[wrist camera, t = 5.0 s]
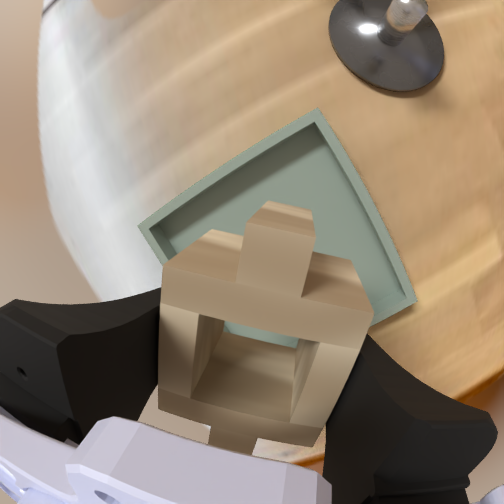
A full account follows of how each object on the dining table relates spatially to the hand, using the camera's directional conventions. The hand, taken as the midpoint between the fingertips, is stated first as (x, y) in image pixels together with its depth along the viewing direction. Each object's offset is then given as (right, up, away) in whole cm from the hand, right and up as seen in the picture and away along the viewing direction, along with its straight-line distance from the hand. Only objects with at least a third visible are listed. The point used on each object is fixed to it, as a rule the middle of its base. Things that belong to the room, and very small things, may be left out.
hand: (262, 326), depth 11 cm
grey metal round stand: (+8, +17, +4) cm, 19 cm away
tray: (+1, +3, +9) cm, 9 cm away
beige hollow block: (0, +1, +1) cm, 1 cm away
